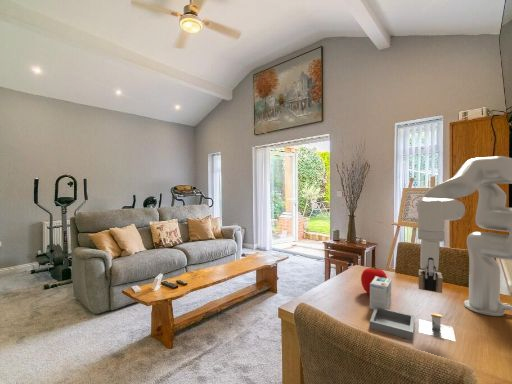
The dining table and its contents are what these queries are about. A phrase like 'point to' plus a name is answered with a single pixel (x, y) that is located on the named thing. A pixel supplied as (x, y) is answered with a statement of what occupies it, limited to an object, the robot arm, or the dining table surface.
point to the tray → (392, 322)
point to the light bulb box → (380, 293)
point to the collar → (437, 276)
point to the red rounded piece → (370, 277)
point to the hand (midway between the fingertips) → (429, 286)
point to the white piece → (436, 328)
